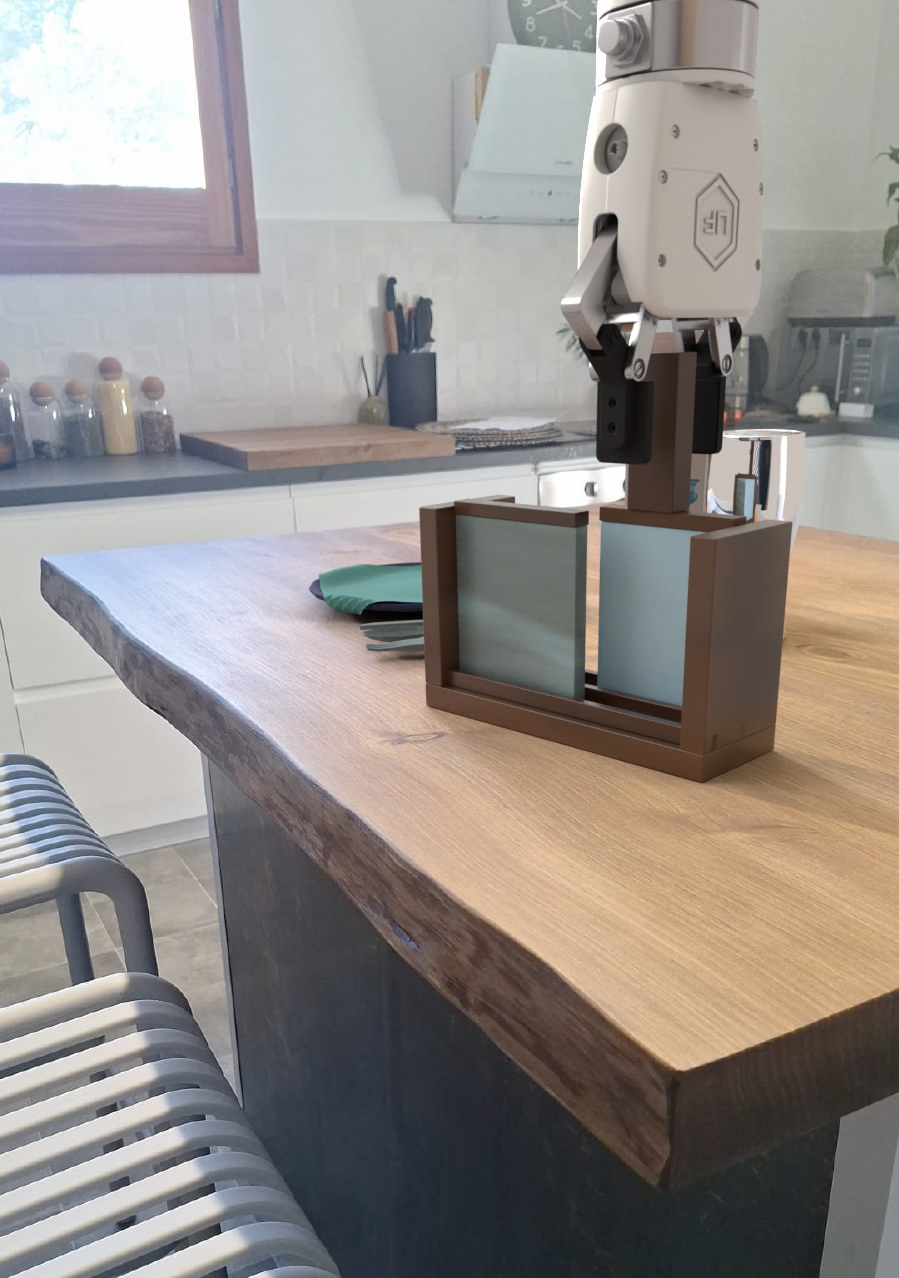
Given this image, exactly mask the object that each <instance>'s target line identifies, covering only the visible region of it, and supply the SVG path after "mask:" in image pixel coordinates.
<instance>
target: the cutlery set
mask: <svg viewBox="0 0 899 1278" xmlns="http://www.w3.org/2000/svg"><path fill="white" fill-rule="evenodd" d="M308 590H309V593H311V594H312V595H313V596H314V598H316V599H318V600H321V601H323V602H325V603H326V604H327V606H329V607H330V609H332V610H333V611H336V612H340V613H349V614H355V615H356V614H357V615H362V613H363V610H366V611H381V612H383V611H385V612H423V599H422V572H421V561H418V562H417V561H416V562H414V561H413V562H398V563H385V564H370V563H359V564H354V565H348V566H342V567H339V568H335V569H331V570H328V571H324V572H321V573H318V578H317V579H315V580H313V581H312V582H311V584H310V585H309V587H308ZM359 630H360V631H361V635H362V636H364V637H366V638H368V639H370V640H375V641H378V642H381V643H366V644H365V647H366V649H367V651H369V652H393V651H424V626H423V619H412V620H393V621H381V622H380V621H379V622H376V621H375V622H368V623H363V624H360V625H359ZM382 642H383V643H382Z"/></svg>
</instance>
